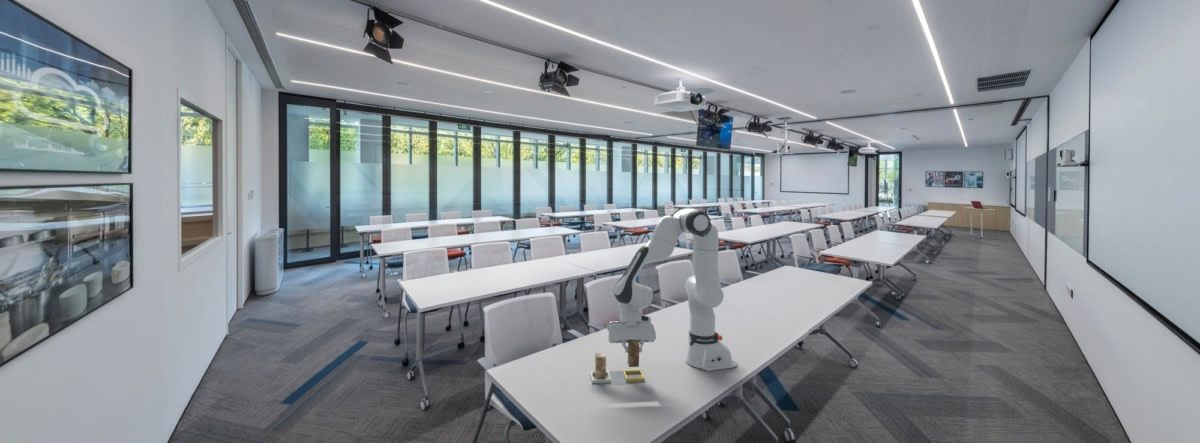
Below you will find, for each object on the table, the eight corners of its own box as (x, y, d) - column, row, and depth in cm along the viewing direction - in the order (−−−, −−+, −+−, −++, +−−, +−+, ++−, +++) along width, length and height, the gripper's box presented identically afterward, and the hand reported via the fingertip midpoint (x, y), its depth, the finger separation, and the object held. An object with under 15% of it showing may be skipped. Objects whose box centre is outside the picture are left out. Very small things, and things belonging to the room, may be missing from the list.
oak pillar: (604, 375, 182) (604, 352, 181) (605, 380, 178) (605, 356, 177) (595, 376, 181) (595, 353, 180) (596, 380, 177) (596, 357, 176)
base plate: (640, 372, 187) (640, 367, 187) (646, 385, 175) (646, 380, 175) (589, 374, 185) (589, 369, 185) (592, 388, 173) (592, 382, 173)
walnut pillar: (637, 362, 182) (637, 339, 181) (638, 366, 178) (639, 343, 177) (627, 363, 182) (628, 340, 181) (629, 367, 178) (629, 343, 177)
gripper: (607, 318, 184) (609, 349, 176) (654, 317, 186) (659, 348, 178) (605, 324, 189) (608, 355, 180) (651, 323, 191) (656, 354, 183)
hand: (633, 351), depth 179 cm, fingers closed on walnut pillar, 4 cm apart
